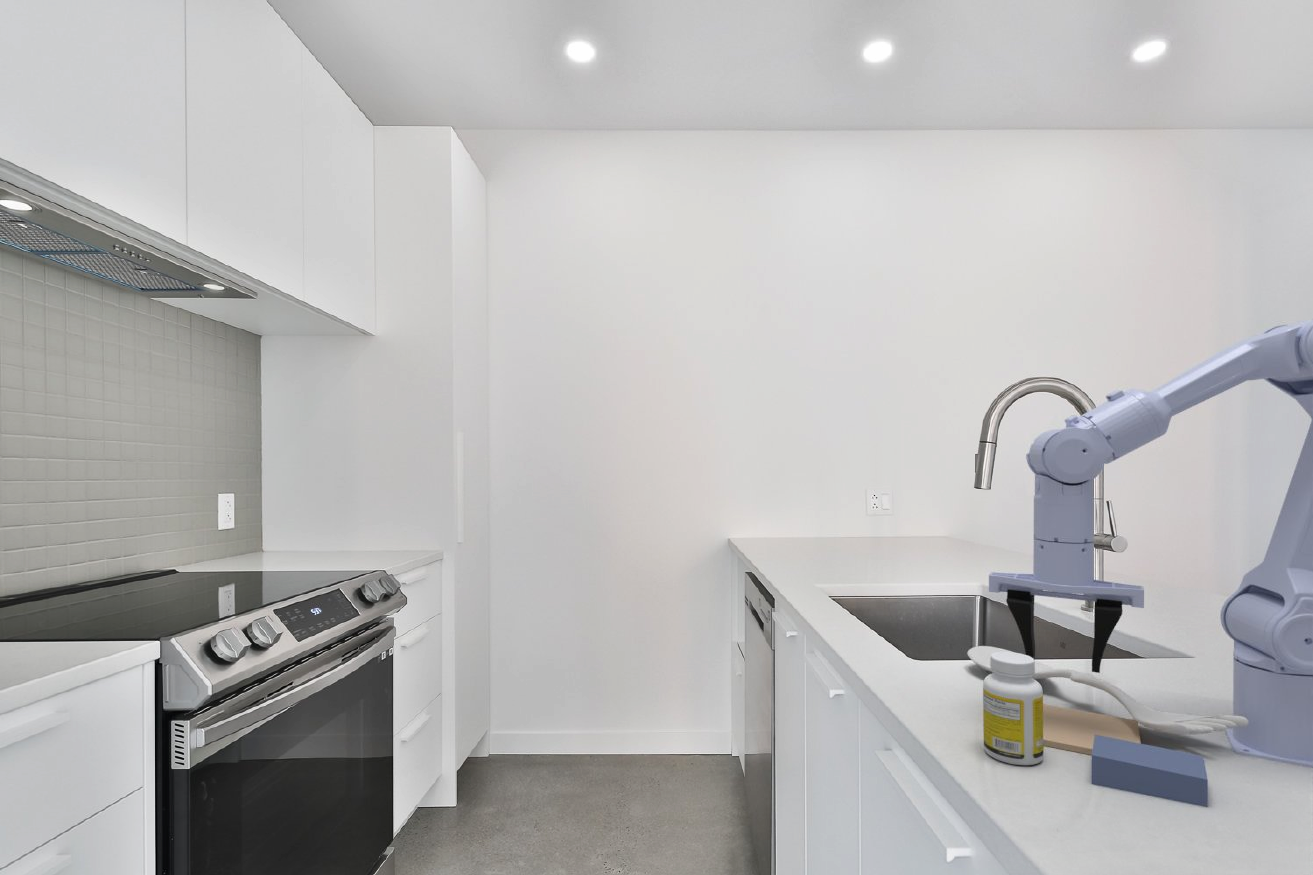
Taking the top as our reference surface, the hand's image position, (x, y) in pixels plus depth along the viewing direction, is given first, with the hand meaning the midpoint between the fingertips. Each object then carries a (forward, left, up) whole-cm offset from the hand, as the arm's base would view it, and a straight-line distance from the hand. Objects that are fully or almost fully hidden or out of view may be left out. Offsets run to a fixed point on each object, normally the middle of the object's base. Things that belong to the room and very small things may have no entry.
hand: (1062, 664), depth 79 cm
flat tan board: (0, 0, -7) cm, 7 cm away
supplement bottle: (+4, +9, -7) cm, 13 cm away
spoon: (-1, -9, -7) cm, 11 cm away
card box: (-7, +10, -7) cm, 14 cm away
